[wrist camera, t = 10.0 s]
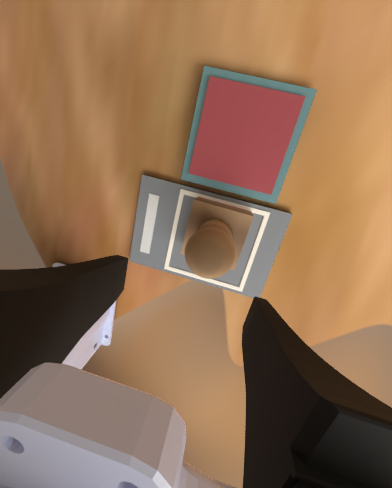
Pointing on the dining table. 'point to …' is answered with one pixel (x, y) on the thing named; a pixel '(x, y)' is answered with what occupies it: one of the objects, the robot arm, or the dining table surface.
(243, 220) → the stamp
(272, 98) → the ink pad
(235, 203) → the sheet board
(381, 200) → the dining table surface
